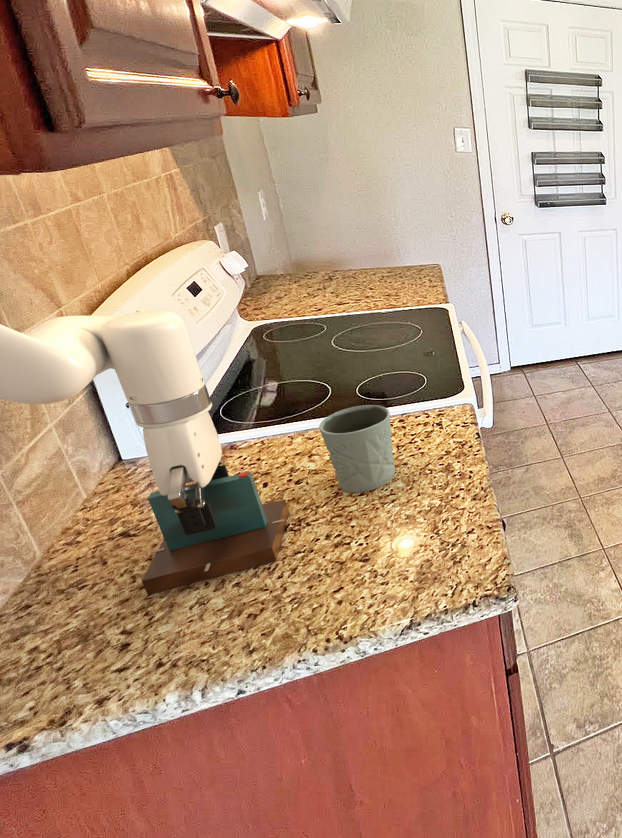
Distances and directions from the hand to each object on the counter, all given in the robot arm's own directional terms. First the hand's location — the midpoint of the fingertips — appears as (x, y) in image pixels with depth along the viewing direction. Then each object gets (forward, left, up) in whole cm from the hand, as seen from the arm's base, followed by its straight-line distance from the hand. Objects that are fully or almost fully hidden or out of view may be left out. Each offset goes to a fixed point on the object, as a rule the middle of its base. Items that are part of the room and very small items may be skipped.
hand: (210, 509), depth 81 cm
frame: (0, 0, -5) cm, 5 cm away
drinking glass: (+18, +11, -7) cm, 22 cm away
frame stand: (0, 0, -7) cm, 7 cm away
